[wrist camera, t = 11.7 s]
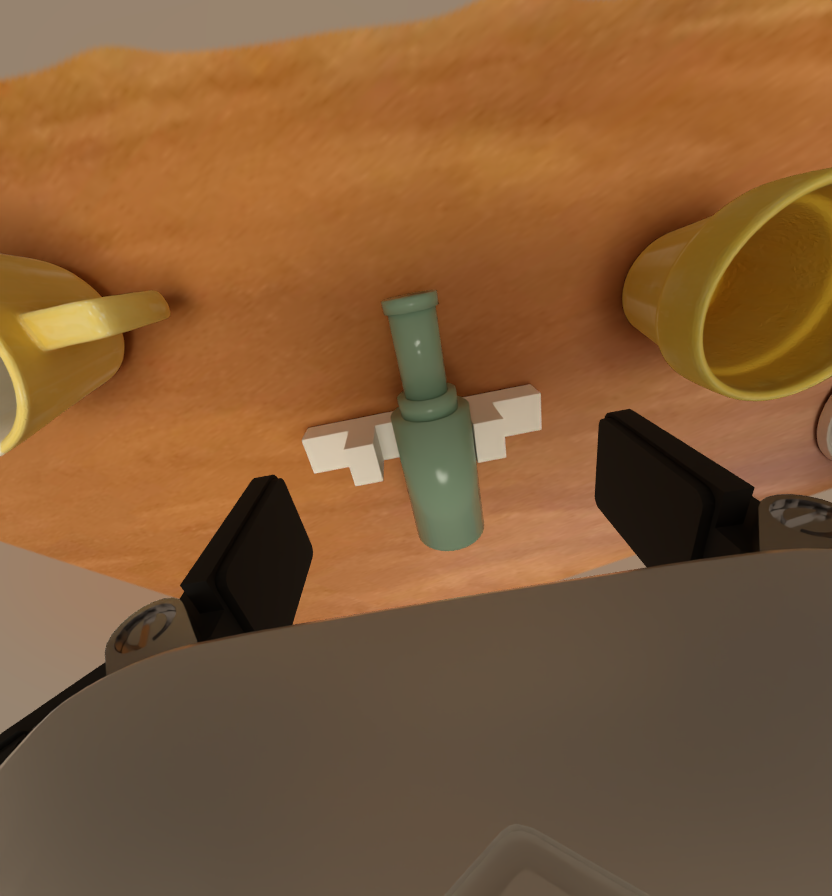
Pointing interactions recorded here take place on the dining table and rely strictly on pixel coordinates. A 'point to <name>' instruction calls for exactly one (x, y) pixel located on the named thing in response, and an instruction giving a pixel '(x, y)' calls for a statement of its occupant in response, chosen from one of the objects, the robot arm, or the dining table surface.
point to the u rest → (375, 441)
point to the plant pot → (744, 292)
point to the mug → (58, 341)
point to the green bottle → (433, 429)
